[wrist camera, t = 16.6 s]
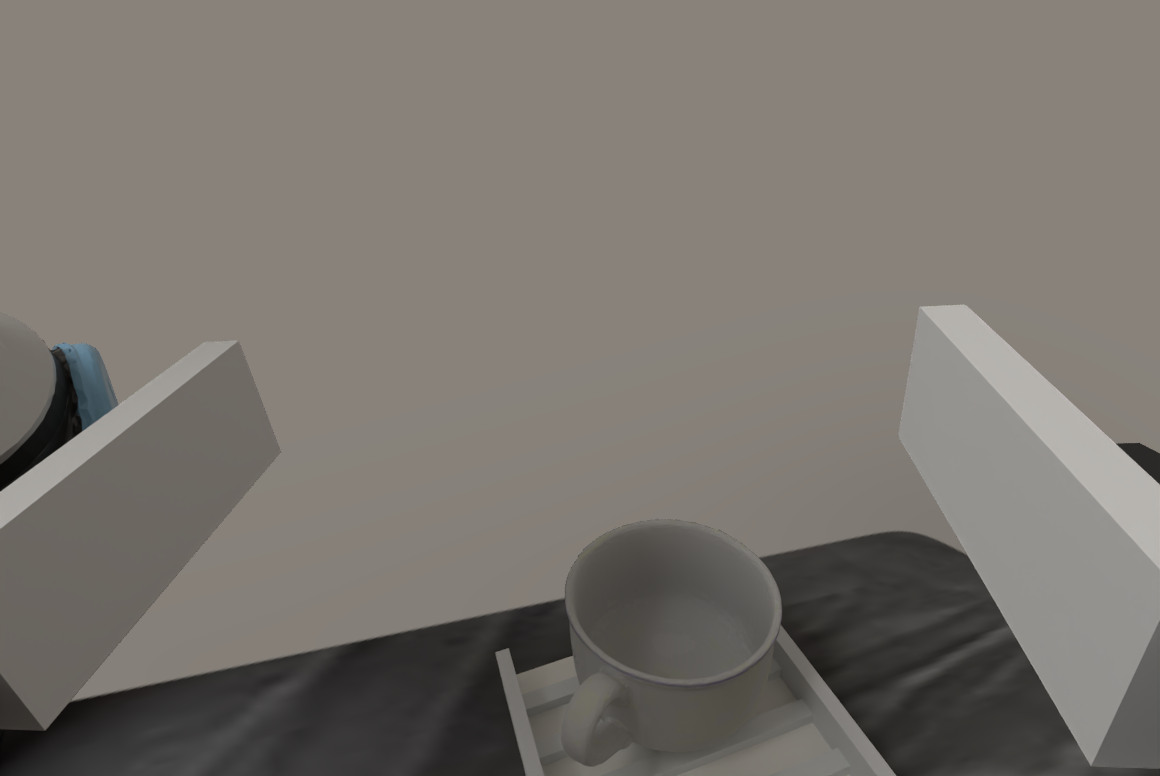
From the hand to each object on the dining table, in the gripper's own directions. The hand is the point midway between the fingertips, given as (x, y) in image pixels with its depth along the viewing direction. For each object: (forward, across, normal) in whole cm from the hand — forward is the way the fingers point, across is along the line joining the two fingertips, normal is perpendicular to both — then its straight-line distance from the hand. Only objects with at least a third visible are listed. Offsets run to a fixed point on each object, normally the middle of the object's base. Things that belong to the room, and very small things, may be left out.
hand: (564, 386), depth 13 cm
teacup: (+12, +1, -27) cm, 30 cm away
